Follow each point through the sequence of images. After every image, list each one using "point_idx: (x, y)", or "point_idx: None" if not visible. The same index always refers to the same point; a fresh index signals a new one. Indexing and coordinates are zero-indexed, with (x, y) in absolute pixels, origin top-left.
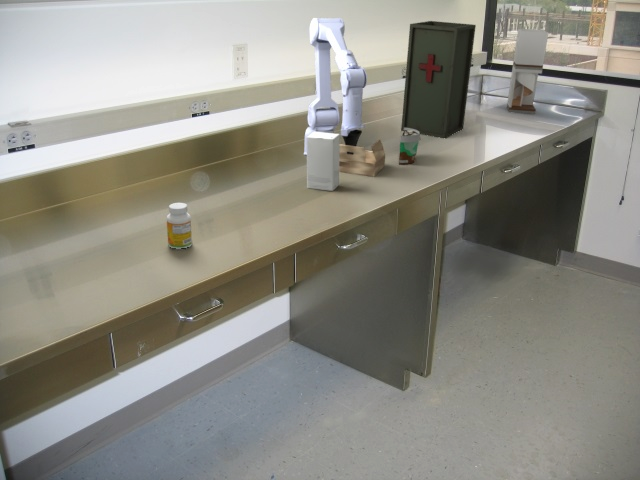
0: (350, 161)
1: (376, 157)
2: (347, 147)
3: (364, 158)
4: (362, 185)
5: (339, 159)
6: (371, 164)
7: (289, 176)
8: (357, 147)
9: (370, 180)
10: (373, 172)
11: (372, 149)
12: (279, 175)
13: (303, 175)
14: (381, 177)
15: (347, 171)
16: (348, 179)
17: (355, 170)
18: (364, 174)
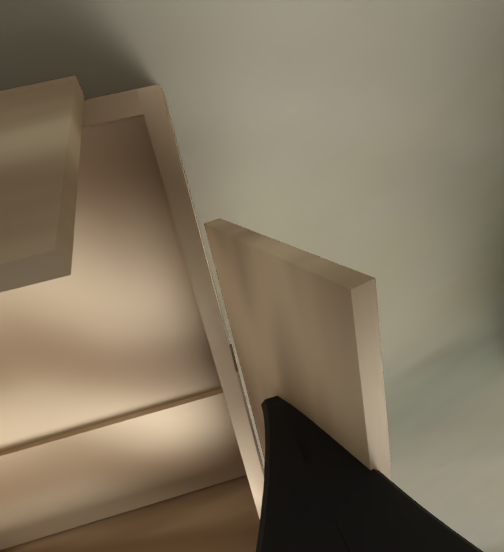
0: (236, 376)
1: (54, 107)
2: None
3: (244, 234)
4: (450, 59)
5: (260, 468)
6: (172, 136)
7: (479, 504)
8: (382, 409)
9: (285, 67)
10: (165, 101)
11: (67, 210)
12: (485, 537)
13: (432, 476)
14: (123, 10)
15: (228, 340)
16: (365, 241)
17: (214, 287)
18: (190, 195)
